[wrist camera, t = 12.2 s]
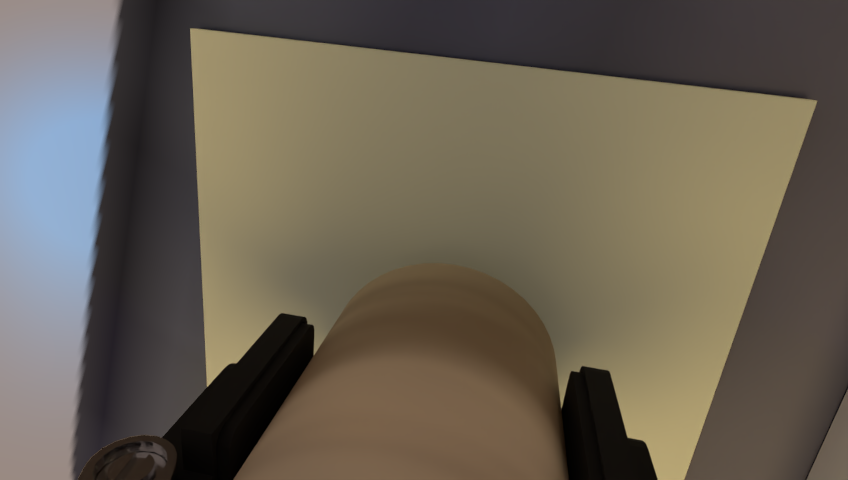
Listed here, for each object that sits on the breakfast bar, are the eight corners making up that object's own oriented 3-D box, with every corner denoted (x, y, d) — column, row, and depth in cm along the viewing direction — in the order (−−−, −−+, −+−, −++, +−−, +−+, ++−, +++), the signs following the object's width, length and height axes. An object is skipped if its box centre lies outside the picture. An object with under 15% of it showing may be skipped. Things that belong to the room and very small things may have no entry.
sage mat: (199, 28, 13) (189, 28, 13) (808, 99, 12) (817, 100, 11) (217, 473, 18) (211, 482, 18) (646, 565, 17) (649, 577, 16)
